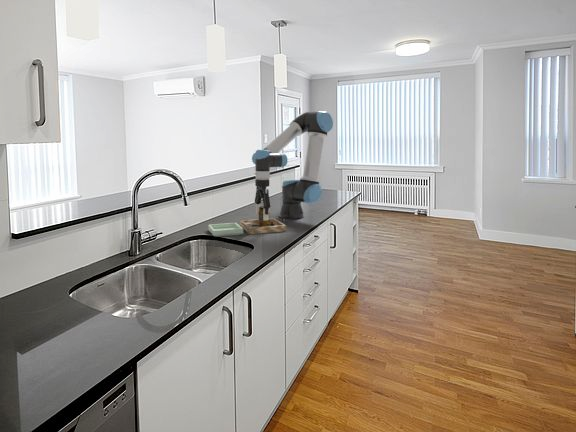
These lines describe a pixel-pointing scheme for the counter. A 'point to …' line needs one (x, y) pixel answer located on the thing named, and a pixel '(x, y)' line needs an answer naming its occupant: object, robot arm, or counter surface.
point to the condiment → (262, 218)
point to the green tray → (225, 229)
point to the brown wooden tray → (255, 230)
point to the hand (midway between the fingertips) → (262, 218)
